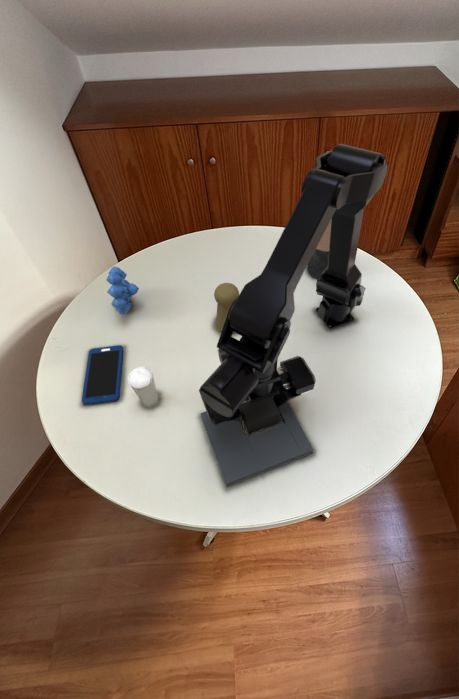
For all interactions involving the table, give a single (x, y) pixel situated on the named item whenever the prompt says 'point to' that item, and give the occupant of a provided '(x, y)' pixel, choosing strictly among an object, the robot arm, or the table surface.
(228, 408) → the robot arm
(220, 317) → the olive pawn
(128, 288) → the grapes
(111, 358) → the cell phone
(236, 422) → the base pad
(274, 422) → the black block
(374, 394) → the table surface
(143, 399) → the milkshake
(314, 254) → the travel mug
